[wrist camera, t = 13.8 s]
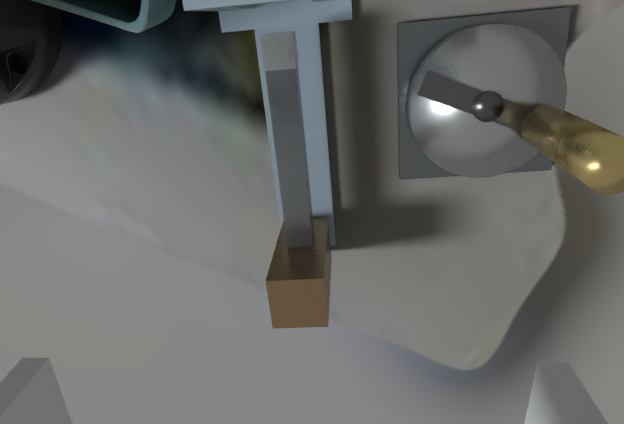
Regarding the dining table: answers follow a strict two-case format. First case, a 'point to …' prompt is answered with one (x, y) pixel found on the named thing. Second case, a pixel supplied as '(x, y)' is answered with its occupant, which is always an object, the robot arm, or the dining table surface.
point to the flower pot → (119, 11)
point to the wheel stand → (427, 34)
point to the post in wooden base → (294, 200)
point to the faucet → (505, 109)
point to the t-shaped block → (305, 22)
